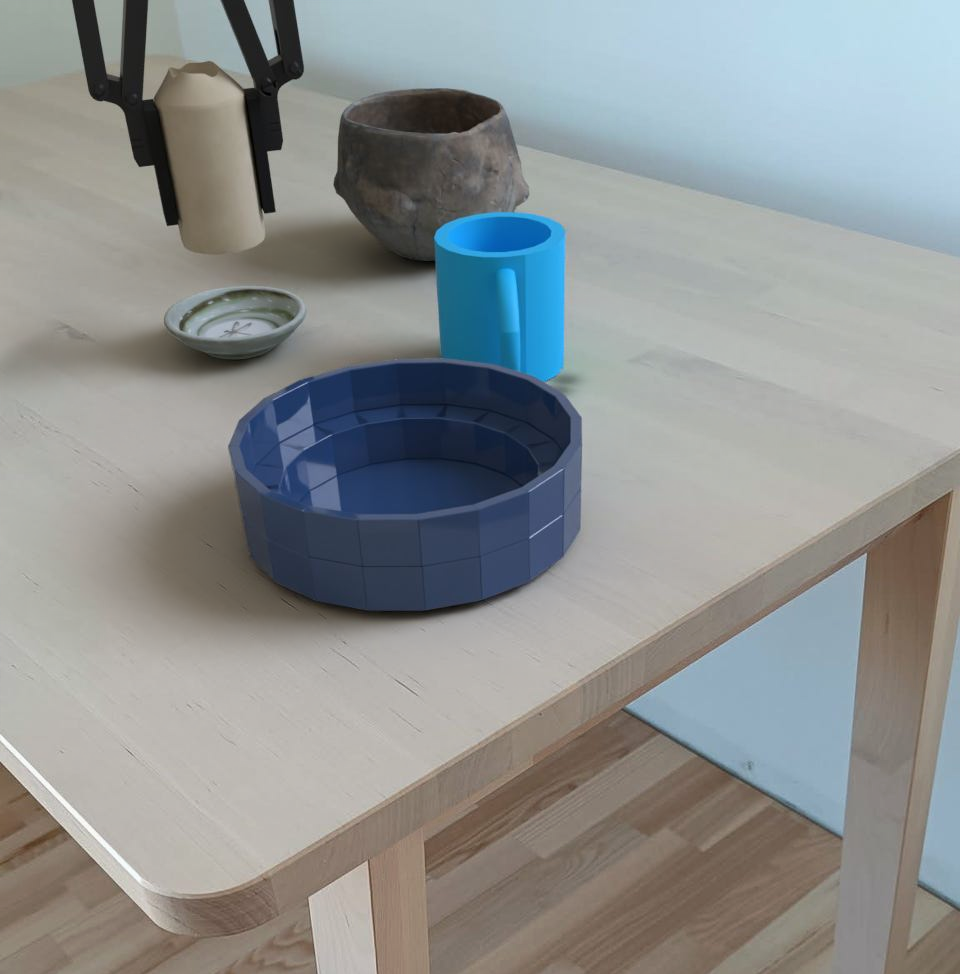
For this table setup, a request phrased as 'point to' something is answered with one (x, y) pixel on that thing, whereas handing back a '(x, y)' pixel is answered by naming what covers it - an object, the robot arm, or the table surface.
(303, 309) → the saucer
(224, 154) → the candle
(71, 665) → the table surface
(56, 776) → the table surface
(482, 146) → the bowl
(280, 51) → the robot arm
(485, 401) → the serving bowl
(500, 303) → the mug
